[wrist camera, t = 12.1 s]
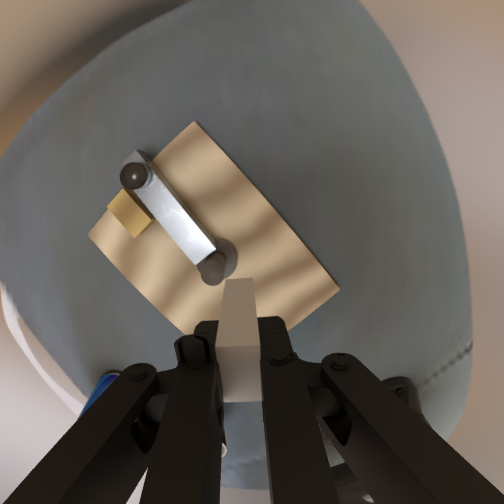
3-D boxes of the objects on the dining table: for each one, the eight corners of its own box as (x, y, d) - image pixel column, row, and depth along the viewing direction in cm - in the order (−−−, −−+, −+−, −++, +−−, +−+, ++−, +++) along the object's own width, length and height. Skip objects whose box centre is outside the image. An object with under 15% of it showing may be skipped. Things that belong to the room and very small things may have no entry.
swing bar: (217, 243, 32) (214, 254, 28) (198, 258, 32) (192, 271, 28) (143, 150, 28) (128, 148, 24) (124, 168, 29) (108, 168, 25)
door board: (337, 286, 36) (356, 309, 30) (229, 366, 39) (228, 398, 33) (195, 122, 30) (184, 110, 23) (91, 232, 33) (64, 246, 26)
